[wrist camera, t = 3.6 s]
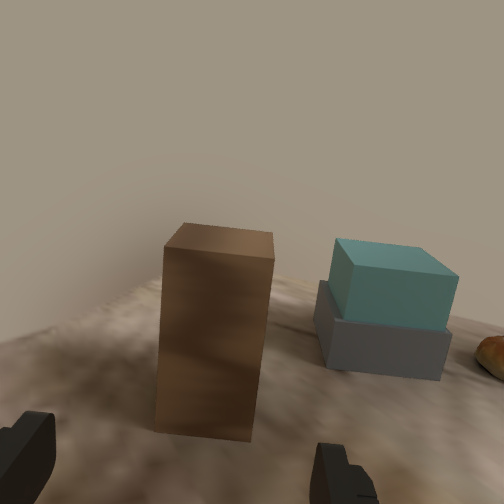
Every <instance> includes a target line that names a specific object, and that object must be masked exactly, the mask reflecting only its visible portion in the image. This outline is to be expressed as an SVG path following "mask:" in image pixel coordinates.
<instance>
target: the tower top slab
mask: <svg viewBox="0 0 504 504" xmlns="http://www.w3.org/2000/svg"><path fill="white" fill-rule="evenodd" d="M458 280H459V276H458V275H456V274H455V273H454V272H452V271H451V270H450V269H448V268H447V267H446V266H444V265H443V264H442V263H440V262H439V261H438V260H436V259H435V258H434V257H432V256H431V255H429V254H428V253H427V252H425V251H424V250H423V249H422V248H418V247H409V246H401V245H392V244H383V243H375V242H366V241H358V240H349V239H340V238H336V240H335V245H334V251H333V257H332V263H331V268H330V274H329V279H328V285H329V288H330V290H331V292H332V294H333V297H334V299H335V301H336V304H337V306H338V308H339V311H340V313H341V315H342V317H343V320H349V321H358V322H366V323H375V324H384V325H393V326H402V327H411V328H420V329H429V330H437V331H445V328H446V325H447V321H448V317H449V314H450V310H451V306H452V302H453V299H454V295H455V291H456V288H457V284H458Z"/></svg>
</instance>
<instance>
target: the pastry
mask: <svg viewBox="0 0 504 504" xmlns="http://www.w3.org/2000/svg"><path fill="white" fill-rule="evenodd" d="M475 357H476V359H477V360H478V361H479V362H480V363H481V364H482V365H483V366H484V367H485V368H486V369H487V370H488V371H489V372H490V373H491V374H492V375H494V376H496V377H497V378H499V379H501V380H503V381H504V336H495V337H487V338H486V339H484V340H483V341H482V342H481V343H480V345H479V346H478V347H477V350H476V352H475Z"/></svg>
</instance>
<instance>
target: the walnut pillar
mask: <svg viewBox="0 0 504 504" xmlns="http://www.w3.org/2000/svg"><path fill="white" fill-rule="evenodd" d="M274 261H275V257H274V245H273V233H272V232H262V231H254V230H245V229H237V228H228V227H218V226H210V225H200V224H193V223H183V225H182V226H181V227H180V228H179V229H178V231H177V232H176V233H175V234H174V235H173V236H172V238H171V239H170V240H169V241H168V242H167V244H166V245H165V246H164V257H163V276H162V295H161V314H160V333H159V352H158V371H157V390H156V409H155V428H154V432H160V433H169V434H178V435H187V436H196V437H205V438H214V439H223V440H232V441H242V442H251V436H252V428H253V421H254V413H255V406H256V398H257V390H258V383H259V375H260V368H261V360H262V352H263V345H264V337H265V330H266V322H267V314H268V307H269V299H270V292H271V284H272V276H273V268H274Z"/></svg>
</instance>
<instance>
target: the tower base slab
mask: <svg viewBox="0 0 504 504" xmlns="http://www.w3.org/2000/svg"><path fill="white" fill-rule="evenodd" d="M313 319H314V323H315V327H316V331H317V335H318V338H319V342H320V346H321V350H322V354H323V357H324V361H325V365H326V369H335V370H344V371H353V372H362V373H371V374H380V375H389V376H398V377H407V378H416V379H425V380H434V381H440V378H441V374H442V371H443V367H444V363H445V360H446V356H447V353H448V349H449V345H450V342H451V338H452V333H451V332H450V331H449V330H448V329H447V328H445V331H437V330H429V329H420V328H411V327H402V326H393V325H384V324H375V323H366V322H358V321H349V320H343V317H342V315H341V313H340V311H339V308H338V306H337V304H336V301H335V299H334V297H333V294H332V292H331V290H330V288H329V285H328V281H323V280H320V283H319V289H318V294H317V300H316V306H315V312H314V318H313Z"/></svg>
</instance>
